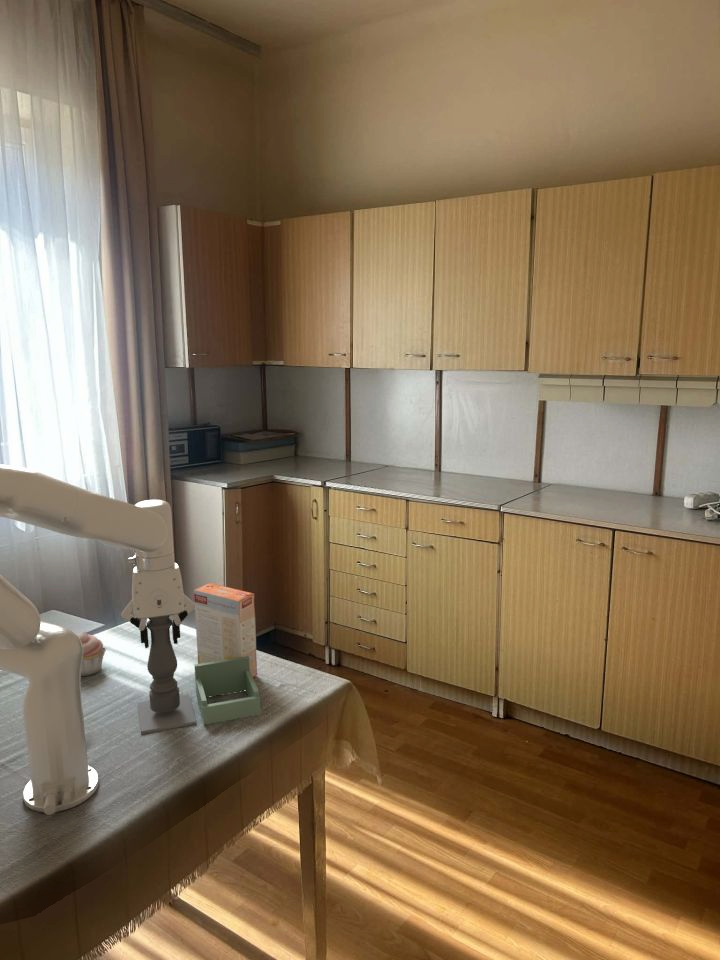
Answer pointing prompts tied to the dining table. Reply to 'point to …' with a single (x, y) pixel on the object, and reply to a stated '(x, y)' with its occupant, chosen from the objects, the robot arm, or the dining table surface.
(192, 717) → the slate mat
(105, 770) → the dining table surface
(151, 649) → the candle holder
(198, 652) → the cracker box
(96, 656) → the cupcake
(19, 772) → the dining table surface
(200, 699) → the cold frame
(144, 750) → the dining table surface
